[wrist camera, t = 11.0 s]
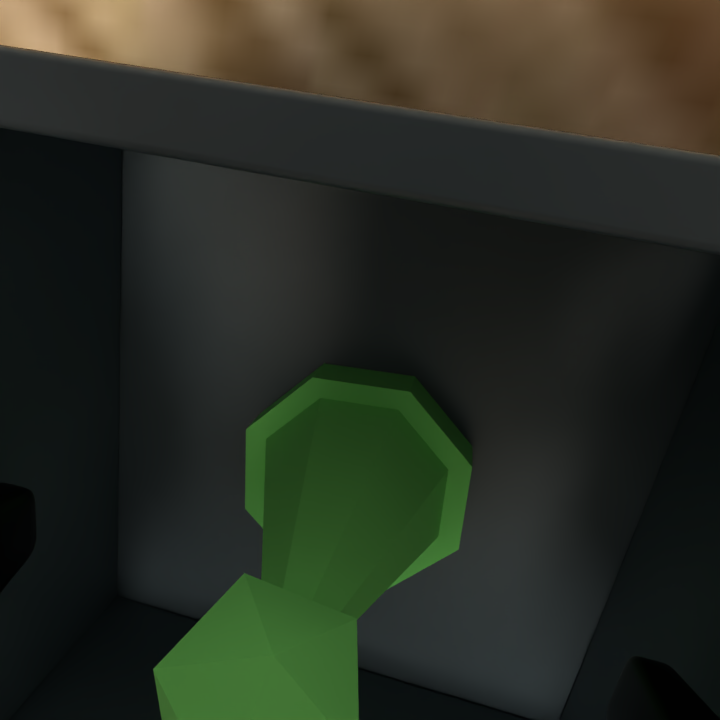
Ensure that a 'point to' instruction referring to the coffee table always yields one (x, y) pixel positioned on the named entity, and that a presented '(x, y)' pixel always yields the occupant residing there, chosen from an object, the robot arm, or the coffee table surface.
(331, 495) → the game piece
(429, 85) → the coffee table surface
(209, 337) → the bin
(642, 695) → the robot arm
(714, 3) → the coffee table surface
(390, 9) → the coffee table surface
